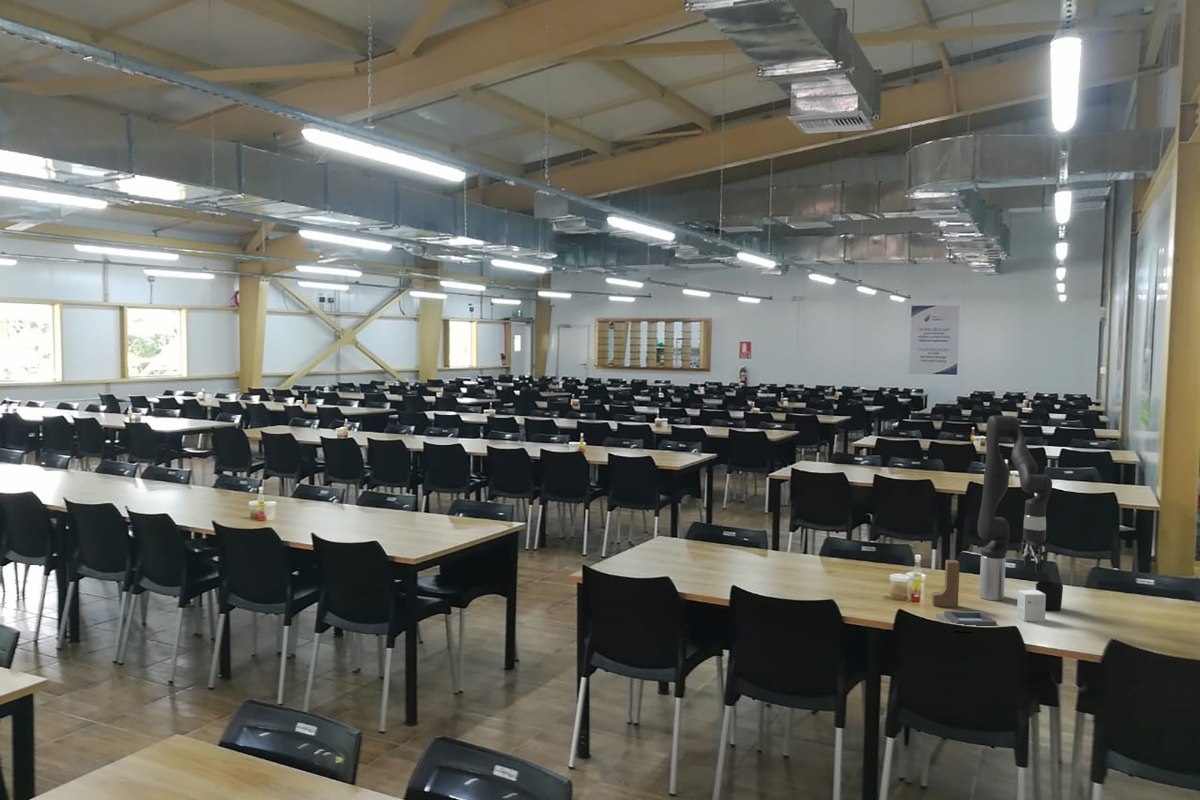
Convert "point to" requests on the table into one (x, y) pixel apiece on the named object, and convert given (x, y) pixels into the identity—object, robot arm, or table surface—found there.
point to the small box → (1031, 605)
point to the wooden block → (948, 586)
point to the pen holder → (1051, 594)
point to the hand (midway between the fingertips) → (1033, 569)
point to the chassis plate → (967, 618)
